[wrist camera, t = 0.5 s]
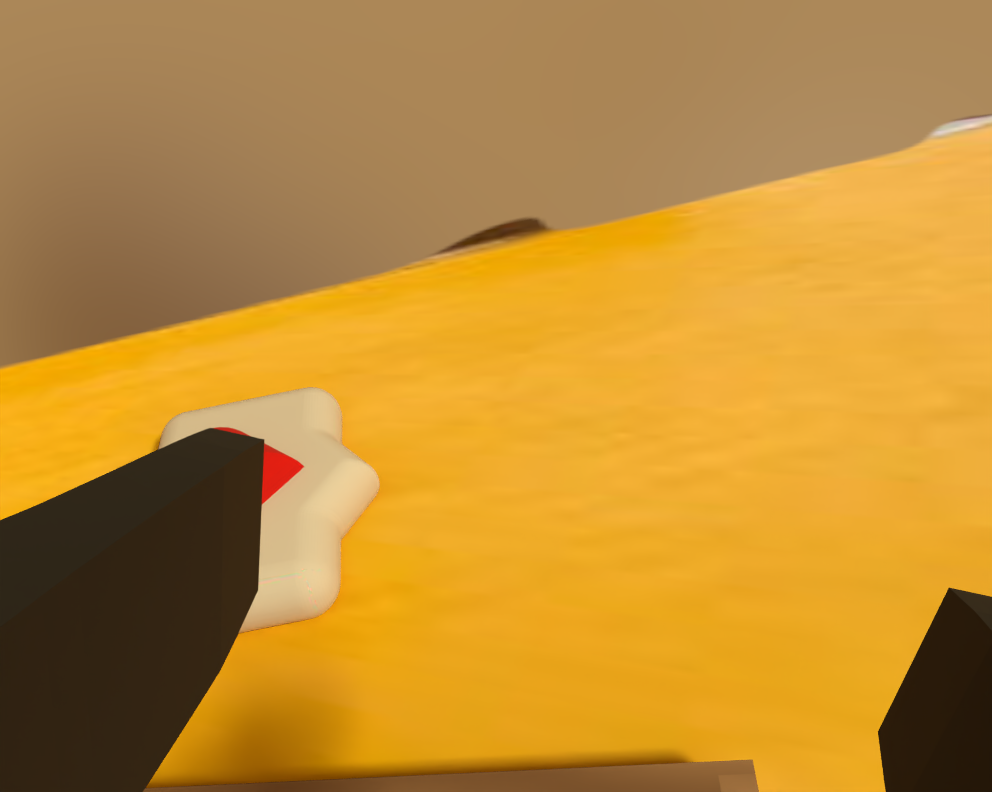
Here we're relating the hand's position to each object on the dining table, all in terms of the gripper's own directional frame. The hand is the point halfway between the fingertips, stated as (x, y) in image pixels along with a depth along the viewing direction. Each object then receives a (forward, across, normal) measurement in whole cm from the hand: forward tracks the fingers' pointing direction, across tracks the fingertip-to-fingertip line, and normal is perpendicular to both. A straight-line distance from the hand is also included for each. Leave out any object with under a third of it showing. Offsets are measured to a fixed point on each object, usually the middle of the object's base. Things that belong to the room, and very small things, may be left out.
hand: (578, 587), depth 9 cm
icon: (+23, +11, +18) cm, 31 cm away
